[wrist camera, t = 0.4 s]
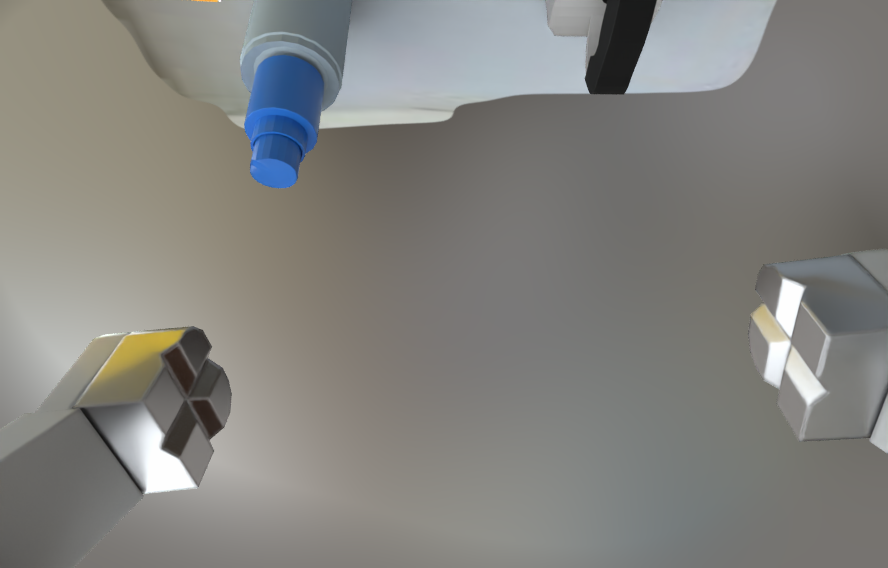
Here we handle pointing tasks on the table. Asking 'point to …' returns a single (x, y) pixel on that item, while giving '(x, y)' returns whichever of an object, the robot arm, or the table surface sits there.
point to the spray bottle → (290, 80)
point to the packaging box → (209, 0)
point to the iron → (605, 36)
